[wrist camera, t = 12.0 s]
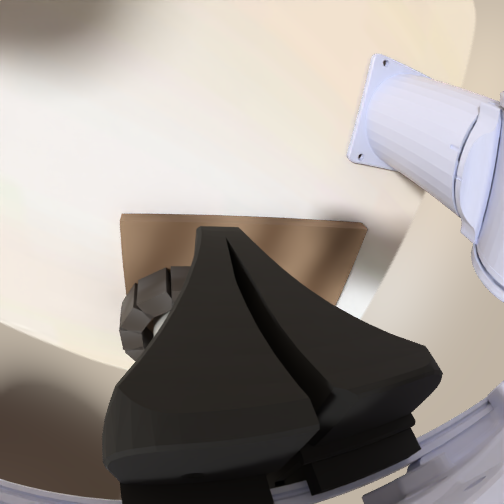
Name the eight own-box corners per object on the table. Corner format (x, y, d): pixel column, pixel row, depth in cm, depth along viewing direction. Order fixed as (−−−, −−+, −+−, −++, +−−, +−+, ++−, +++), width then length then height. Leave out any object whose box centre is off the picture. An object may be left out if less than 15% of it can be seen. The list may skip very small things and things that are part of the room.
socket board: (361, 222, 24) (384, 247, 21) (312, 337, 32) (324, 363, 29) (114, 213, 19) (105, 243, 16) (131, 347, 26) (130, 379, 24)
